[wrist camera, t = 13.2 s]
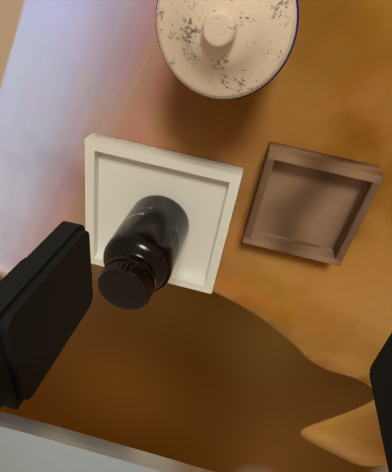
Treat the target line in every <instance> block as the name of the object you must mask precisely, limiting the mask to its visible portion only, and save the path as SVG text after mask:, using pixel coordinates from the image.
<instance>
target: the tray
mask: <svg viewBox="0 0 392 472" xmlns="http://www.w3.org/2000/svg"><path fill="white" fill-rule="evenodd" d="M243 169H244V168H243V167H238V166H234V165H230V164H226V163H221V162H217V161H213V160H208V159H204V158H200V157H195V156H191V155H187V154H183V153H178V152H174V151H170V150H165V149H161V148H157V147H152V146H148V145H144V144H140V143H135V142H131V141H127V140H122V139H118V138H114V137H109V136H105V135H101V134H97V133H92V134H91V135H89V136H88V137H87V138H86V139H85V211H86V231H88V232H89V236H90V253H91V264H96V265H99V266H103V267H104V262H103V253H104V250H105V247H106V245H107V244H108V242H109V241H110V239H111V238H112V236H113V235H114V233H115V232H116V230H117V229H118V228H119V226H120V225H121V223H122V222H123V220H124V219H125V217H126V216H127V215H128V213H129V212H130V210H131V209H132V208H133V206H134V205H135V204H136V203H137V202H138V201H139V200H140V199H142V198H144V197H147V196H151V195H160V196H165V197H168V198H170V199H172V200H174V201H175V202H177V203H178V204H179V205H180V206H181V207H182V208H183V209H184V211H185V213H186V214H187V217H188V220H189V231H188V234H187V237H186V240H185V242H184V245H183V247H182V250H181V252H180V255H179V257H178V260H177V262H176V265H175V267H174V270H173V272H172V275H171V277H170V279H169V281H168V282H167V283H170V284H174V285H178V286H182V287H186V288H189V289H194V290H197V291H201V292H205V293H209V294H211V293H212V290H213V286H214V282H215V278H216V274H217V271H218V267H219V263H220V259H221V255H222V251H223V247H224V244H225V240H226V236H227V232H228V228H229V224H230V220H231V217H232V213H233V209H234V205H235V201H236V197H237V194H238V190H239V186H240V182H241V178H242V174H243Z"/></svg>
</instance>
